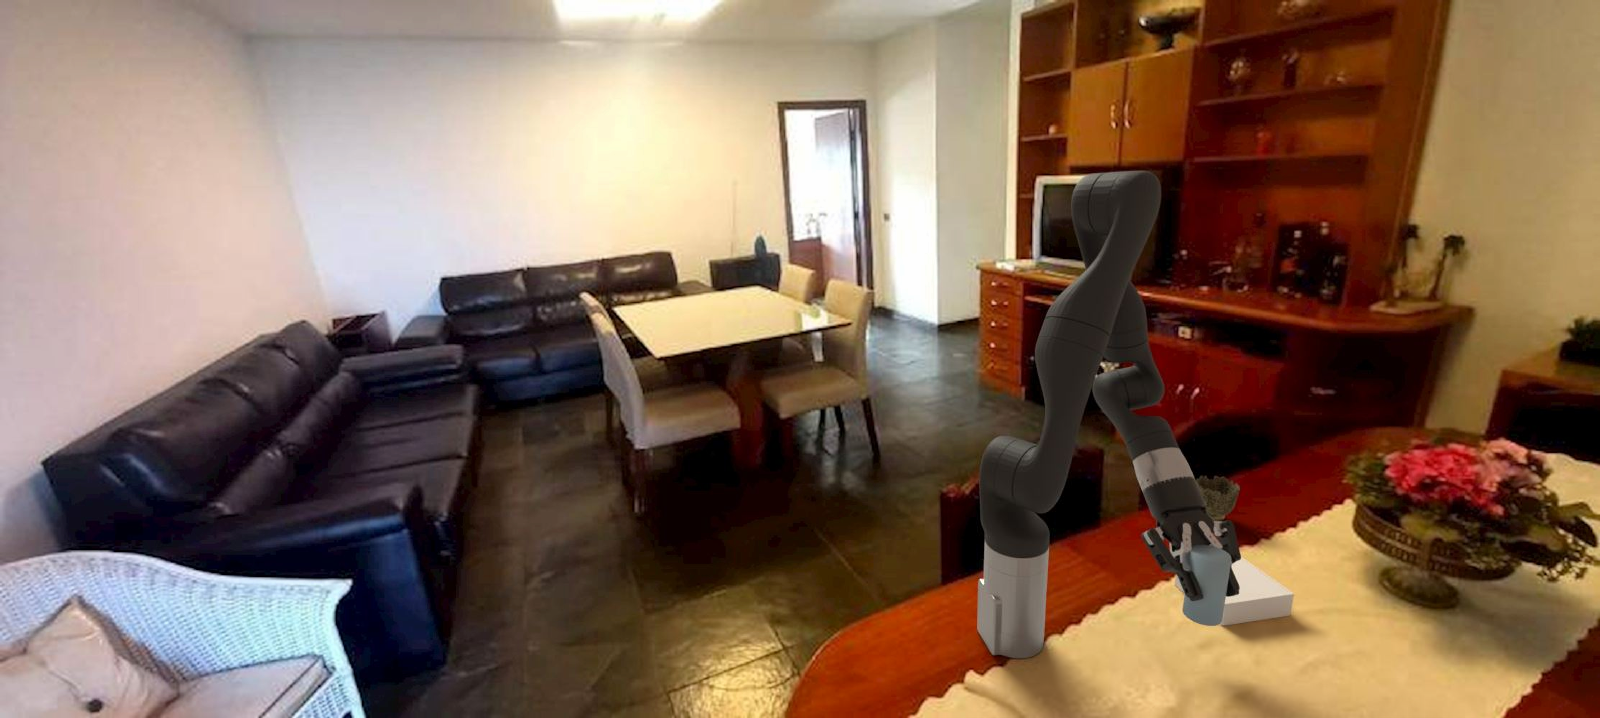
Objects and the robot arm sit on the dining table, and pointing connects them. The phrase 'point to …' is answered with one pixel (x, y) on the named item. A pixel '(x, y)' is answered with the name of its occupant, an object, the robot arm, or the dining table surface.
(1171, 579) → the dining table surface
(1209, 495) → the cup
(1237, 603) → the white plinth
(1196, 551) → the blue cylinder
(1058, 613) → the dining table surface
